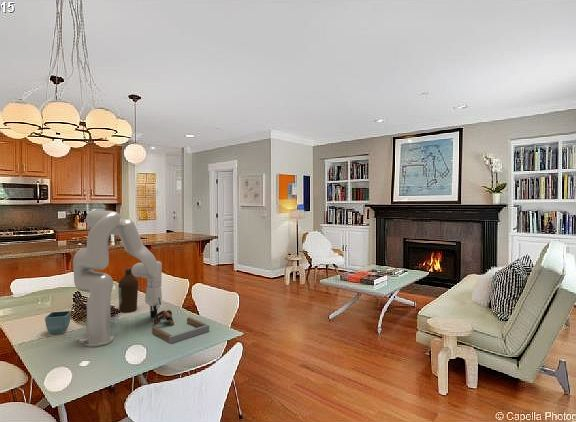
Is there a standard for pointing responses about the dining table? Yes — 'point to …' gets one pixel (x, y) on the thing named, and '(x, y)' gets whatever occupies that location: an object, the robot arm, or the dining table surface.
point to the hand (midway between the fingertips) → (153, 317)
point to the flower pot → (58, 322)
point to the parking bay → (171, 339)
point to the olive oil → (128, 292)
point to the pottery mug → (163, 317)
